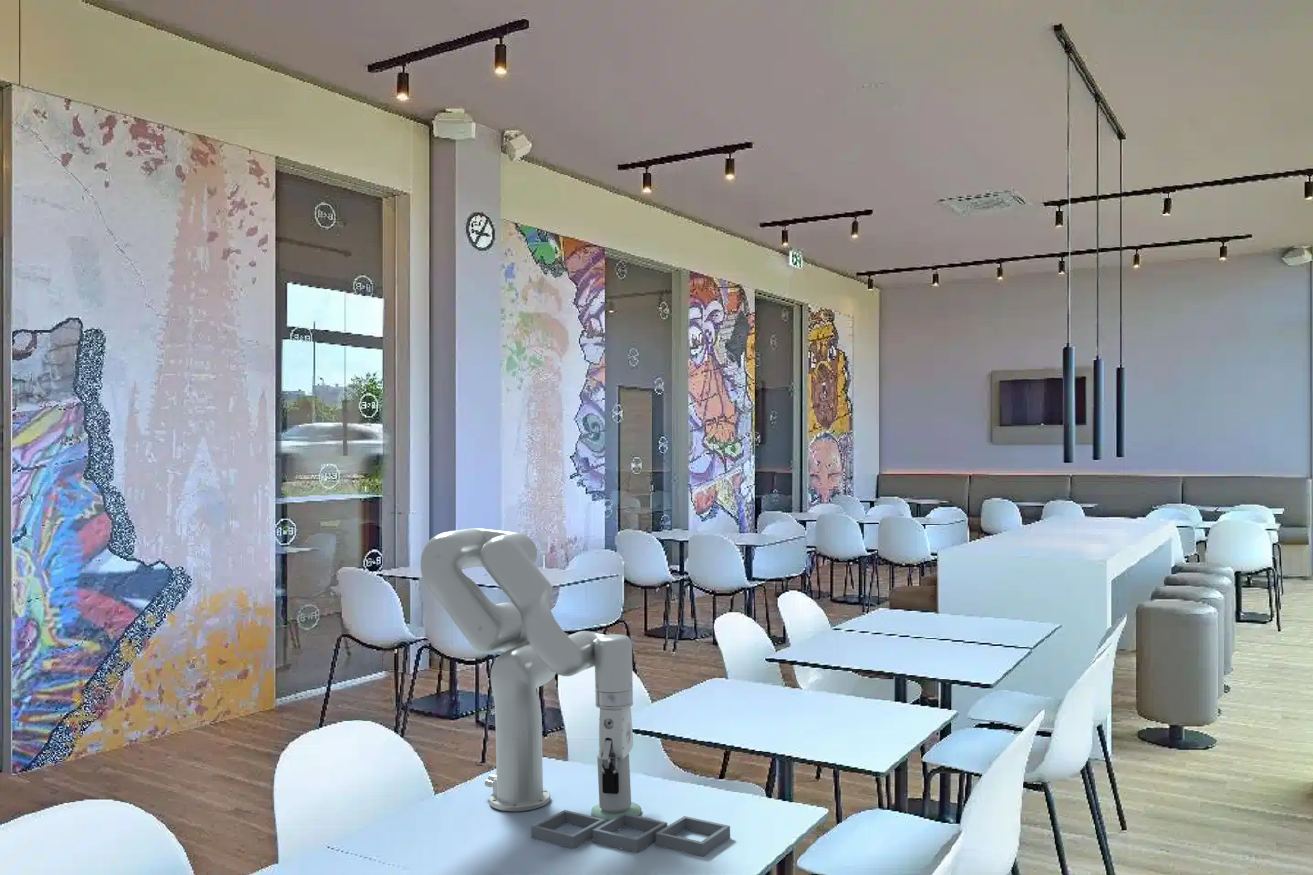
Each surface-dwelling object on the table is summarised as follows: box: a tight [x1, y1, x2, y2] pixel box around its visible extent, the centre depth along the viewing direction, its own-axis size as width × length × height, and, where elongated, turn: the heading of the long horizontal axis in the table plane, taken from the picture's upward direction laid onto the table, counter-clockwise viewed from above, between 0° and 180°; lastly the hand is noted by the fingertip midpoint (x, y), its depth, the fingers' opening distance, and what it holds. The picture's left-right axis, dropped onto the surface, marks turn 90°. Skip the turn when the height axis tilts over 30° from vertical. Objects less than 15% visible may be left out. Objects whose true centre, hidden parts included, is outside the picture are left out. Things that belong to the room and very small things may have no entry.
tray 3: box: [655, 815, 731, 857], centre depth 183 cm, size 10×10×2 cm
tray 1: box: [530, 809, 607, 850], centre depth 187 cm, size 10×10×2 cm
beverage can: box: [596, 750, 632, 813], centre depth 199 cm, size 6×6×12 cm
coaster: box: [590, 801, 642, 822], centre depth 198 cm, size 10×10×1 cm
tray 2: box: [592, 813, 668, 853], centre depth 185 cm, size 10×10×2 cm
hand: (615, 785), depth 198 cm, fingers open, 7 cm apart
